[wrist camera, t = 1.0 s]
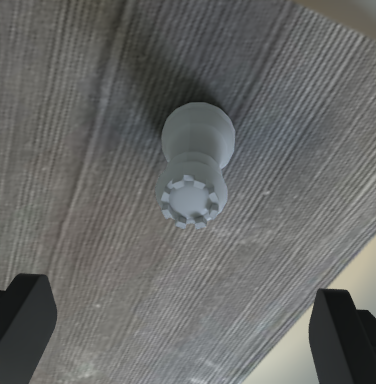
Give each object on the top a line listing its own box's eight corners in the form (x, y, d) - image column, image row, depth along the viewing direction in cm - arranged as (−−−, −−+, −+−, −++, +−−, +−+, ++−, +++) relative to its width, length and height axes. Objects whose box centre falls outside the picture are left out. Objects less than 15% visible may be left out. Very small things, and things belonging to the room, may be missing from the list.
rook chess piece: (154, 107, 21) (123, 168, 14) (228, 91, 20) (232, 148, 14) (173, 172, 23) (154, 252, 17) (240, 161, 23) (249, 239, 16)
